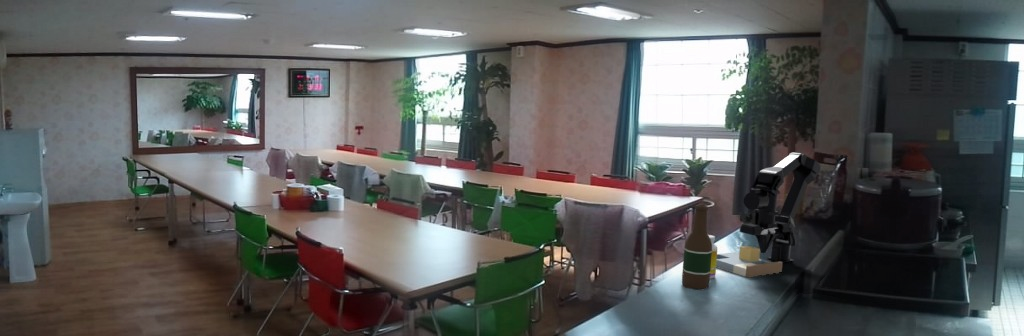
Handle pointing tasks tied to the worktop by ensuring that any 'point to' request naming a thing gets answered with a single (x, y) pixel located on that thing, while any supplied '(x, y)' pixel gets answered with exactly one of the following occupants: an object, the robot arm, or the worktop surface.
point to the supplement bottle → (713, 257)
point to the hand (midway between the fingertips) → (762, 252)
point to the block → (749, 253)
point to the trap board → (746, 265)
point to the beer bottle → (697, 253)
